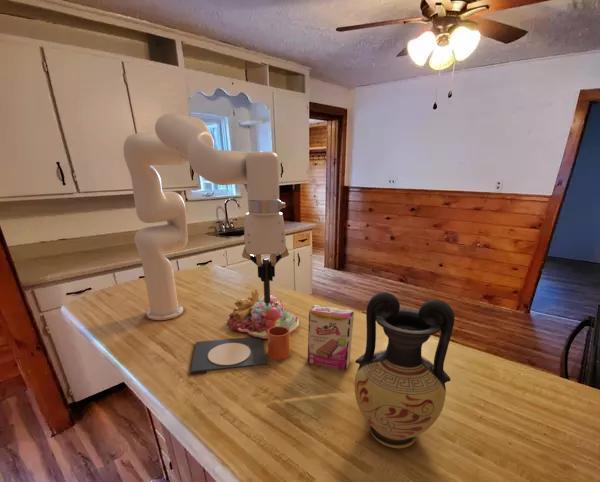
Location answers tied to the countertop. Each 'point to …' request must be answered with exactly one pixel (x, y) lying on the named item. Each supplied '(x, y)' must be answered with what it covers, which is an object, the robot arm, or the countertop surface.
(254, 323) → the candy landscape model
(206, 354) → the board
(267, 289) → the marker pen
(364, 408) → the amphora
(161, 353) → the countertop surface
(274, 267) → the robot arm
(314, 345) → the candy bar box
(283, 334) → the pen pot
